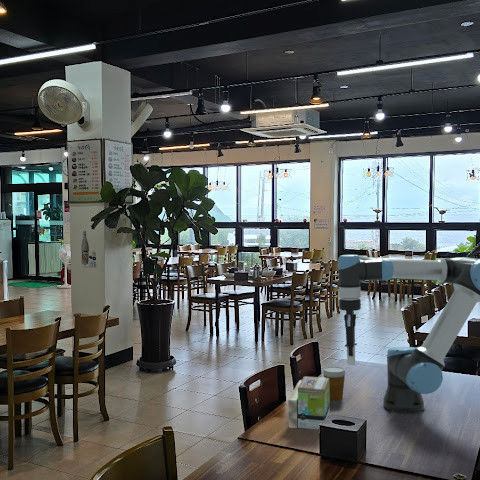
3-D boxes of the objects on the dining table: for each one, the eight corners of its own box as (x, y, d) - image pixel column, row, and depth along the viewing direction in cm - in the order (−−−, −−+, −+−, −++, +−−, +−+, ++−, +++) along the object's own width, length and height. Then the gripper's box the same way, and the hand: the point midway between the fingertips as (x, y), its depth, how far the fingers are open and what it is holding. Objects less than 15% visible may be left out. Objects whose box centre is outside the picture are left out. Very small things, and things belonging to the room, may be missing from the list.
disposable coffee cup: (320, 400, 223) (319, 371, 223) (325, 393, 232) (325, 365, 232) (343, 403, 220) (343, 373, 219) (348, 395, 228) (347, 367, 228)
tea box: (325, 430, 192) (324, 388, 191) (297, 428, 195) (296, 387, 194) (330, 415, 206) (329, 376, 206) (303, 413, 209) (302, 375, 208)
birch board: (307, 405, 218) (306, 380, 217) (297, 428, 195) (296, 400, 194) (300, 405, 219) (299, 380, 218) (288, 427, 196) (288, 399, 195)
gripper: (340, 295, 202) (342, 359, 203) (337, 301, 190) (338, 368, 191) (361, 295, 200) (363, 360, 201) (359, 301, 188) (360, 369, 189)
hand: (351, 364), depth 196 cm, fingers closed
